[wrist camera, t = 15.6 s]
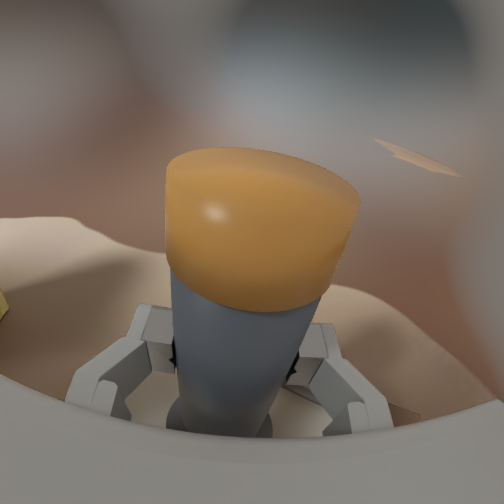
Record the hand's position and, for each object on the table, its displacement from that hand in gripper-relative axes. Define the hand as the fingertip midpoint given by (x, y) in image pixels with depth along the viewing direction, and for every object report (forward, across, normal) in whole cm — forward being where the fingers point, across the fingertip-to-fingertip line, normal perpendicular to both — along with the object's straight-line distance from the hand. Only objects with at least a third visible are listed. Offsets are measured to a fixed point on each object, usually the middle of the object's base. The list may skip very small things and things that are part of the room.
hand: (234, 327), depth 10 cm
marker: (-1, 0, +7) cm, 7 cm away
